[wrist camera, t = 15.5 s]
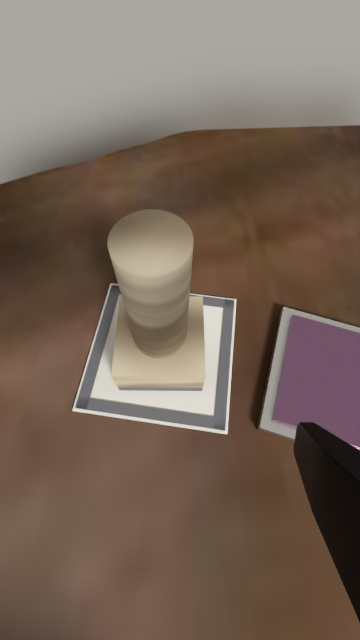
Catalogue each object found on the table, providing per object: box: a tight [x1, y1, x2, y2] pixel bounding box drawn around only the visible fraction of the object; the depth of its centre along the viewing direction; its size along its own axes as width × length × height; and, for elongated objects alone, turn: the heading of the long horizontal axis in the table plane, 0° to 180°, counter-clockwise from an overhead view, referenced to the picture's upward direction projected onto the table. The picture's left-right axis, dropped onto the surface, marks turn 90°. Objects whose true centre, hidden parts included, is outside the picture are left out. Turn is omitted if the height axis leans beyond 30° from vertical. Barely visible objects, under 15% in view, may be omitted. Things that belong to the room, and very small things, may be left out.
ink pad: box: [257, 307, 360, 450], centre depth 23 cm, size 10×10×1 cm
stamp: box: [107, 209, 206, 391], centre depth 18 cm, size 6×6×12 cm
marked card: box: [72, 283, 236, 434], centre depth 24 cm, size 11×11×1 cm
